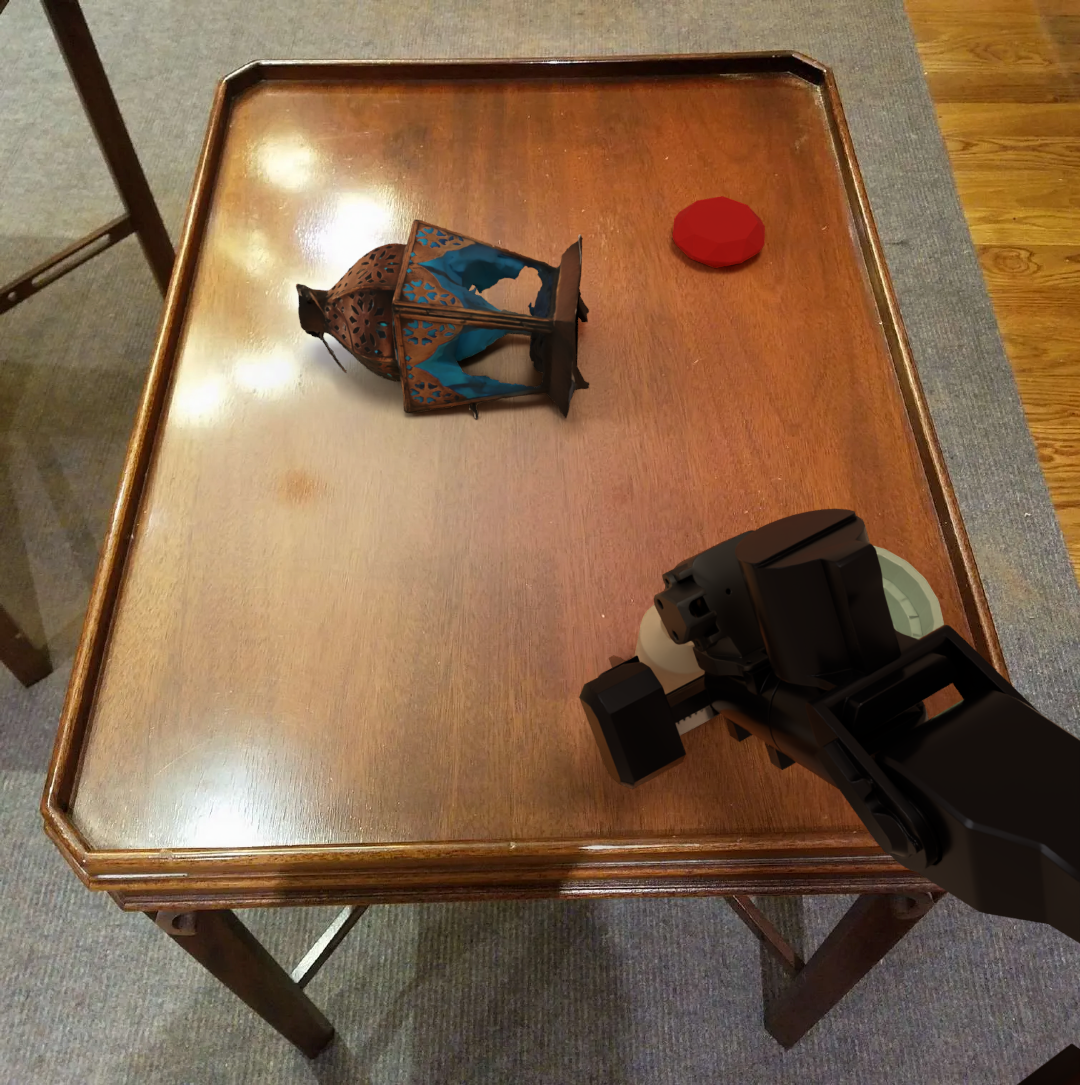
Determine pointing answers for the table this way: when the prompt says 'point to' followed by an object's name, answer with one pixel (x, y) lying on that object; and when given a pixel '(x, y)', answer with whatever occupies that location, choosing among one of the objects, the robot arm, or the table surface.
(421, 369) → the lantern
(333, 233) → the table surface
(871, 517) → the table surface
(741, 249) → the gemstone
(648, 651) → the candle
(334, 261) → the table surface
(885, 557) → the bowl
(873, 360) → the table surface
